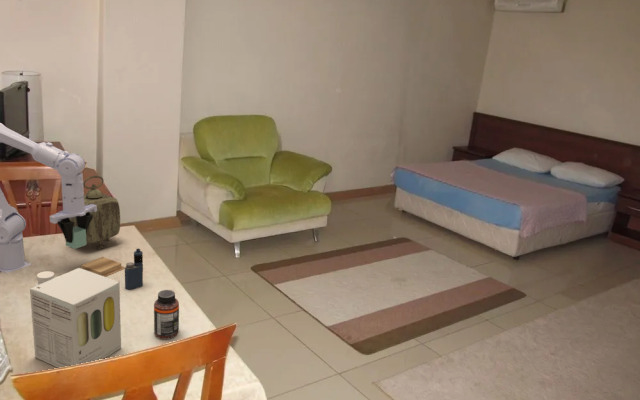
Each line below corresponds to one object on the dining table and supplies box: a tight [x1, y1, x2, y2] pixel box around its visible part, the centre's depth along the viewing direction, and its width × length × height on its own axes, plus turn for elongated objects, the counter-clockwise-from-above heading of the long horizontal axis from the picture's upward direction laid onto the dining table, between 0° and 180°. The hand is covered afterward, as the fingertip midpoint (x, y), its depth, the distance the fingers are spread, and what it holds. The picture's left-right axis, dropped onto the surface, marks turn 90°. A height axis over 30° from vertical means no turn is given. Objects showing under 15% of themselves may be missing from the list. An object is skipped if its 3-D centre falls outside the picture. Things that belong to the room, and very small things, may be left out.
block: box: [65, 226, 88, 250], centre depth 157 cm, size 4×4×5 cm
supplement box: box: [29, 267, 122, 368], centre depth 119 cm, size 13×13×18 cm
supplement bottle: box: [153, 289, 180, 340], centre depth 130 cm, size 6×6×11 cm
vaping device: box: [124, 248, 144, 291], centre depth 151 cm, size 3×5×12 cm, turn 137°
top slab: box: [80, 256, 122, 276], centre depth 161 cm, size 8×8×2 cm
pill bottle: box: [34, 270, 55, 287], centre depth 137 cm, size 5×5×10 cm
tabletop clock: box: [69, 175, 121, 250], centre depth 173 cm, size 14×9×25 cm, turn 144°
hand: (75, 239), depth 157 cm, fingers closed on block, 4 cm apart
